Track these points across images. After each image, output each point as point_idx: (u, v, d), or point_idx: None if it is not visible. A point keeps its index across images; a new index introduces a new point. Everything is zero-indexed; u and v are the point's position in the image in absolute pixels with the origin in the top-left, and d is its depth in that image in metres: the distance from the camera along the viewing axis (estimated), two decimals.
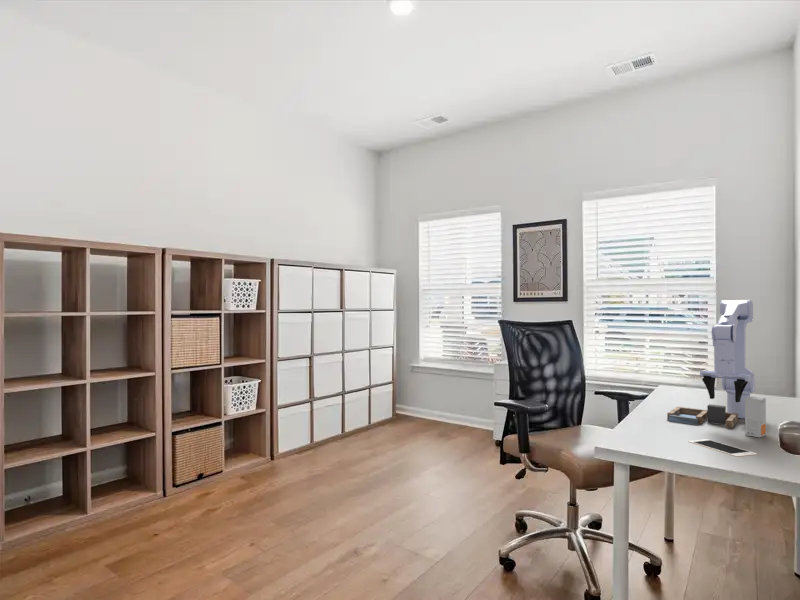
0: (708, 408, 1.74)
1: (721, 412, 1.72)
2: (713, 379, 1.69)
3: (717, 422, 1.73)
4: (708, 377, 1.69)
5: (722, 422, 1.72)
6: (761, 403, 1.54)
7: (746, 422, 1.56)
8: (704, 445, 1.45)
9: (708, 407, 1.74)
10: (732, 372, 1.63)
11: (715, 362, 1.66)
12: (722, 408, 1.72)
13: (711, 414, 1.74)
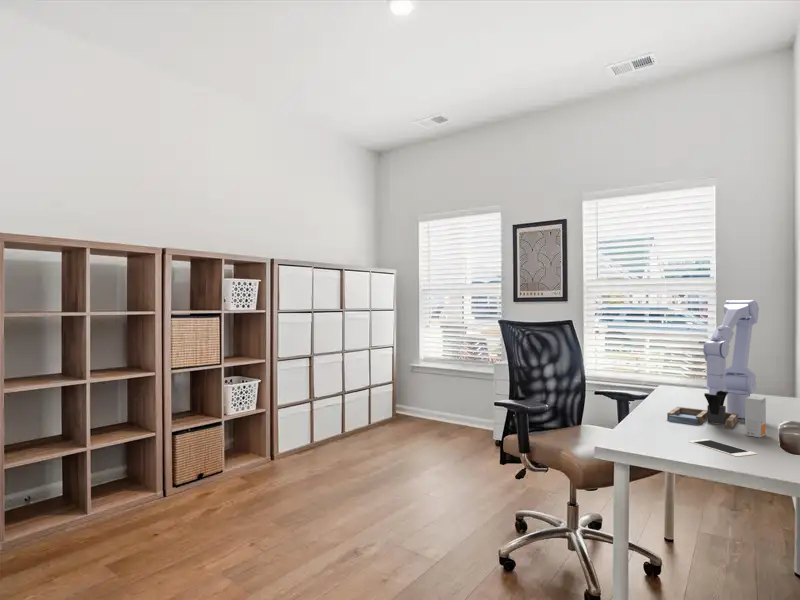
0: (708, 408, 1.74)
1: (721, 412, 1.72)
2: (721, 393, 1.76)
3: (717, 422, 1.73)
4: None
5: (722, 422, 1.72)
6: (761, 403, 1.54)
7: (746, 422, 1.56)
8: (704, 445, 1.45)
9: (708, 407, 1.74)
10: (711, 385, 1.73)
11: None
12: (722, 408, 1.72)
13: (711, 414, 1.74)
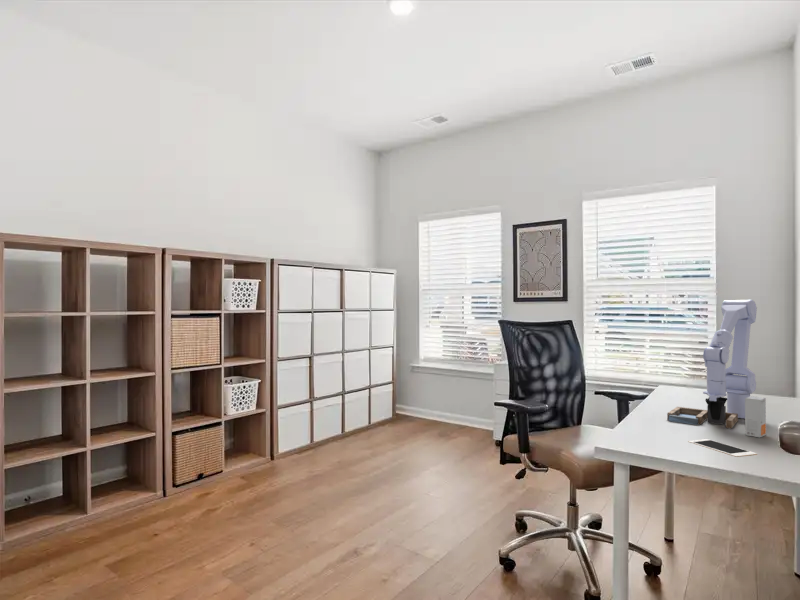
0: (708, 408, 1.74)
1: (721, 411, 1.72)
2: (720, 400, 1.75)
3: (717, 422, 1.73)
4: None
5: (722, 422, 1.72)
6: (761, 403, 1.54)
7: (746, 422, 1.56)
8: (704, 445, 1.45)
9: (708, 407, 1.74)
10: (712, 392, 1.73)
11: None
12: (722, 408, 1.72)
13: None
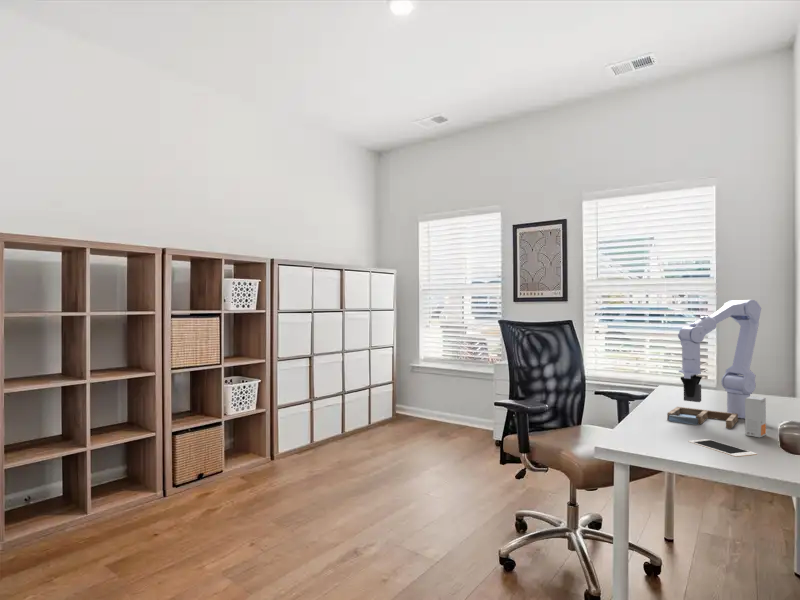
0: None
1: (697, 390, 1.77)
2: (695, 378, 1.80)
3: (693, 400, 1.78)
4: None
5: (697, 400, 1.77)
6: (761, 403, 1.54)
7: (746, 422, 1.56)
8: (704, 445, 1.45)
9: None
10: (687, 370, 1.78)
11: None
12: (697, 386, 1.77)
13: None
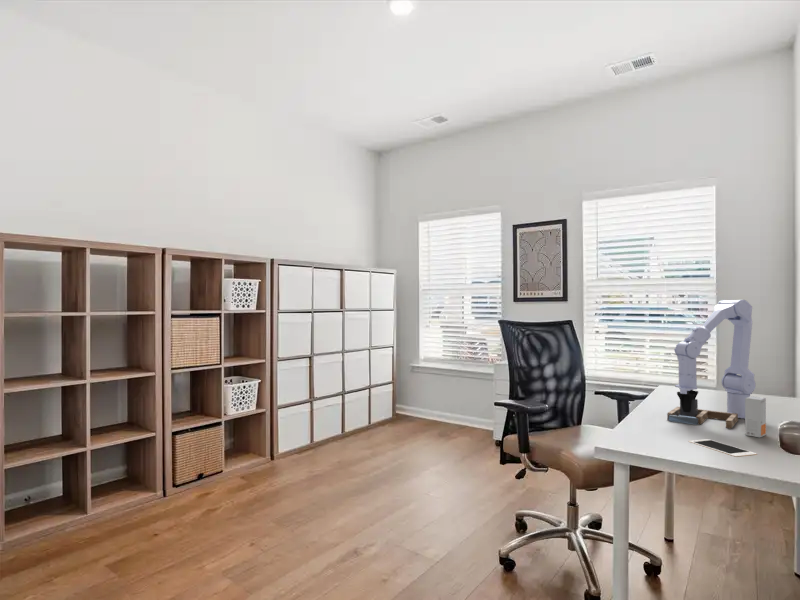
0: None
1: (693, 405, 1.78)
2: (691, 393, 1.81)
3: (689, 415, 1.78)
4: None
5: (694, 415, 1.77)
6: (761, 403, 1.54)
7: (746, 422, 1.56)
8: (704, 445, 1.45)
9: None
10: (683, 385, 1.79)
11: None
12: (694, 401, 1.77)
13: None
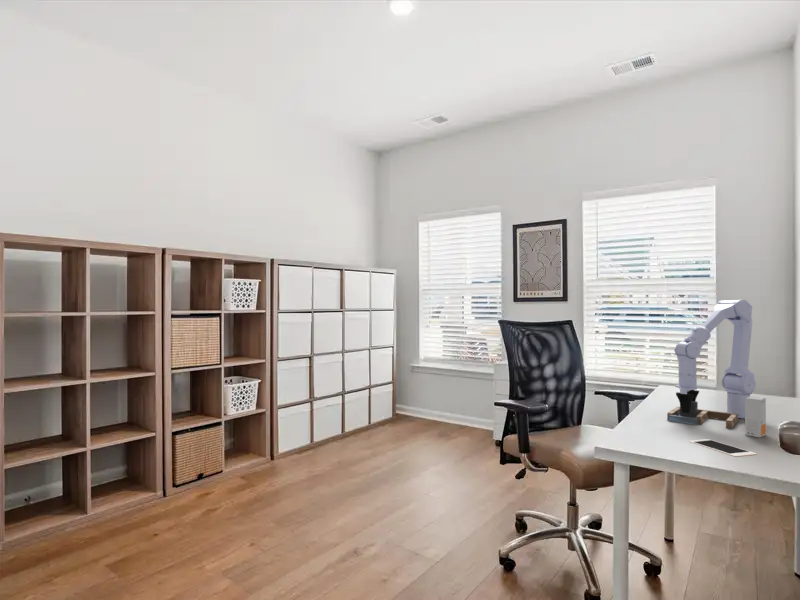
0: None
1: (693, 407, 1.78)
2: (692, 392, 1.82)
3: None
4: None
5: (694, 417, 1.77)
6: (761, 403, 1.54)
7: (746, 422, 1.56)
8: (704, 445, 1.45)
9: None
10: (683, 385, 1.79)
11: None
12: (694, 403, 1.77)
13: None
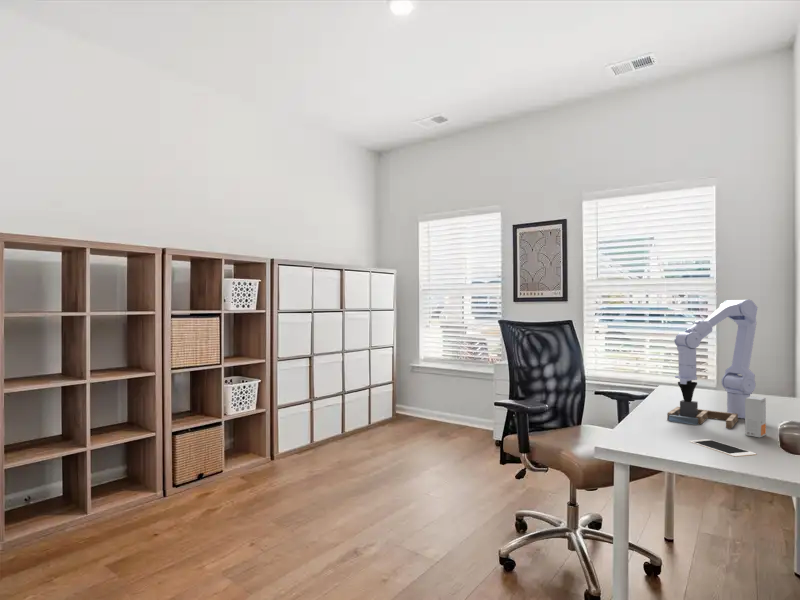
0: (680, 404, 1.80)
1: (693, 407, 1.78)
2: (690, 384, 1.80)
3: None
4: None
5: (694, 417, 1.77)
6: (761, 403, 1.54)
7: (746, 422, 1.56)
8: (704, 445, 1.45)
9: (680, 403, 1.80)
10: (683, 375, 1.79)
11: None
12: (694, 403, 1.77)
13: (683, 409, 1.80)
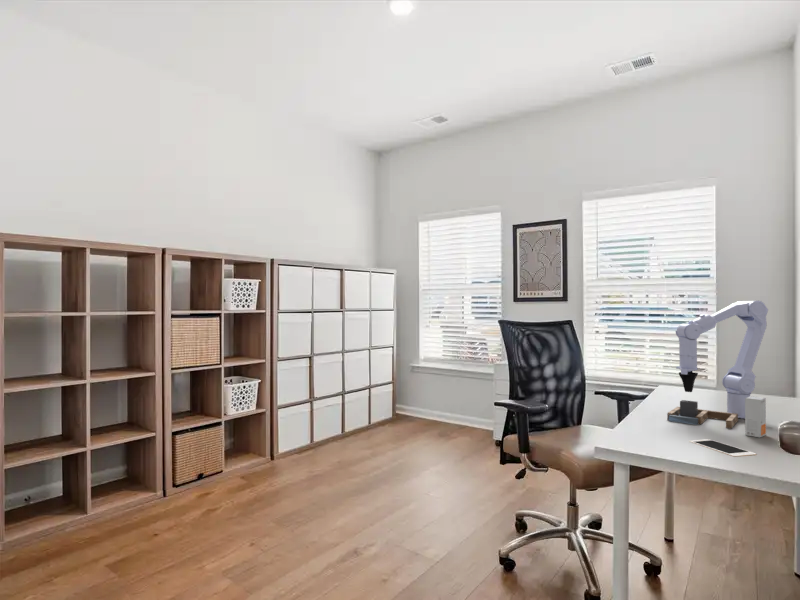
0: (680, 404, 1.80)
1: (693, 407, 1.78)
2: None
3: None
4: None
5: (694, 417, 1.77)
6: (761, 403, 1.54)
7: (746, 422, 1.56)
8: (704, 445, 1.45)
9: (680, 403, 1.80)
10: (684, 366, 1.82)
11: None
12: (694, 403, 1.77)
13: (683, 409, 1.80)
